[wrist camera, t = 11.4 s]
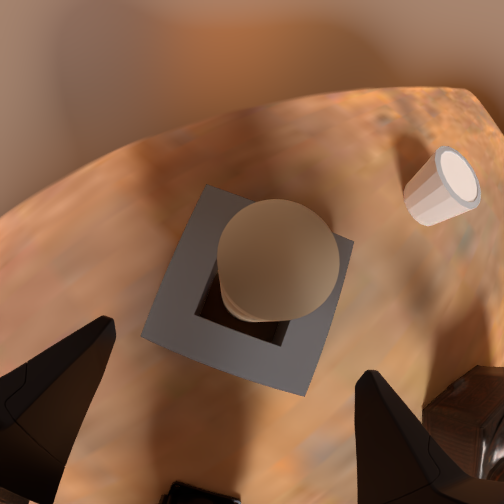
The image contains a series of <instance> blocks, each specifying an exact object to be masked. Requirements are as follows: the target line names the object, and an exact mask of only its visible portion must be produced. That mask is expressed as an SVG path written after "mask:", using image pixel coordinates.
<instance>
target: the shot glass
mask: <svg viewBox="0 0 504 504" xmlns="http://www.w3.org/2000/svg"><path fill="white" fill-rule="evenodd" d="M480 198H481V190H480V185H479V181H478V179H477V176H476V174H475V172H474V170H473V168H472V167H471V165H470V164H469V163H468V161H467V160H466V159H465V158H464V157H463V156H462V155H461V154H460V153H459V152H458V151H457V150H455V149H453V148H451V147H449V146H441V147H440V148H439V149H437V150H436V151H435V153H434V154H433V155H432V156H431V157H430V158H429V160H428V161H427V162H426V163H425V164H424V165H423V166H422V168H421V169H420V170H419V171H418V172H417V173H416V174H415V175H414V177H413V178H412V179H411V180H410V181H409V182H408V183H407V184H406V186H405V189H404V202H405V204H406V207H407V209H408V211H409V213H410V214H411V215H412V217H413V218H414V219H415V220H416V221H418V222H419V223H420V224H422V225H426V226H430V225H434V224H437V223H439V222H442V221H444V220H447V219H449V218H452V217H454V216H457V215H459V214H462V213H464V212H467V211H469V210H472V209H474V208H476V207H477V206H478V204H479V203H480Z"/></svg>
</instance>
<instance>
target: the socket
mask: <svg viewBox="0 0 504 504" xmlns="http://www.w3.org/2000/svg"><path fill="white" fill-rule="evenodd" d="M253 203H255V202H254V201H252V200H249V199H246V198H244V197H241V196H238V195H235V194H233V193H230V192H227V191H224V190H221V189H219V188H216V187H213V186H210V185H207V184H206V186H205V188H204V190H203V192H202V194H201V196H200V198H199V200H198V202H197V204H196V207H195V209H194V211H193V213H192V215H191V217H190V219H189V221H188V223H187V226H186V228H185V230H184V232H183V234H182V237H181V239H180V241H179V243H178V245H177V248H176V250H175V252H174V254H173V257H172V259H171V261H170V264H169V266H168V268H167V271H166V273H165V275H164V278H163V280H162V283H161V285H160V287H159V290H158V292H157V295H156V297H155V300H154V302H153V305H152V307H151V310H150V313H149V315H148V318H147V320H146V323H145V326H144V328H143V331H142V334H141V337H143V338H145V339H147V340H149V341H151V342H153V343H155V344H158V345H160V346H162V347H164V348H167V349H169V350H171V351H173V352H176V353H178V354H180V355H183V356H185V357H188V358H190V359H192V360H195V361H197V362H200V363H202V364H205V365H208V366H210V367H213V368H216V369H218V370H221V371H224V372H226V373H229V374H232V375H235V376H238V377H241V378H244V379H247V380H250V381H253V382H256V383H259V384H262V385H265V386H269V387H272V388H275V389H279V390H282V391H286V392H289V393H293V394H297V395H300V396H304V397H305V395H306V392H307V390H308V387H309V385H310V382H311V379H312V377H313V374H314V372H315V369H316V366H317V363H318V361H319V358H320V355H321V352H322V349H323V347H324V344H325V341H326V338H327V335H328V332H329V329H330V326H331V322H332V319H333V316H334V313H335V310H336V306H337V303H338V300H339V296H340V293H341V289H342V286H343V282H344V279H345V275H346V271H347V268H348V264H349V260H350V256H351V252H352V248H353V244H354V241H352V240H349V239H347V238H345V237H342V236H340V235H337V234H335V233H333V232H332V234H333V236H334V238H335V241H336V243H337V247H338V251H339V264H340V265H339V273H338V278H337V281H336V284H335V286H334V288H333V290H332V292H331V294H330V295H329V297H328V298H327V299H326V301H325V302H324V303H323V304H322V305H321V306H320V307H318V308H317V309H316V310H314V311H313V312H311V313H309V314H308V315H305V316H303V317H300V318H297V319H293V320H286V321H279V323H278V326H277V329H276V332H275V334H274V337H273V340H272V343H270V342H268V341H265V340H262V339H259V338H256V337H253V336H250V335H248V334H245V333H242V332H240V331H237V330H234V329H231V328H229V327H226V326H224V325H221V324H218V323H216V322H213V321H211V320H208V319H206V318H203V317H201V316H200V313H201V311H202V308H203V306H204V303H205V301H206V298H207V296H208V293H209V291H210V288H211V286H212V283H213V281H214V278H215V276H216V273H217V271H218V265H217V250H218V244H219V240H220V237H221V235H222V232H223V230H224V229H225V227H226V225H227V224H228V222H229V221H230V220H231V219H232V218H233V217H234V216H235V215H236V214H237V213H238V212H239V211H240V210H242V209H243V208H245V207H247V206H248V205H251V204H253Z"/></svg>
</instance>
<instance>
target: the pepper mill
mask: <svg viewBox="0 0 504 504" xmlns="http://www.w3.org/2000/svg"><path fill="white" fill-rule="evenodd" d="M423 426H424V427H425V428H426V430H427V431H428V432H429V435H431V436H432V437H433V438H434V439H435V441H436V442H437V443H438V444H439V445H440V447H441V448H442V449H443V450H444V451H445V452H446V453H447V454H448V455H449V456H450V457H451V458H452V459H453V460H454V461H455V462H456V463H457V464H458V466H459V467H460V468H461V469H462V470H463V471H464V472H466V473H467V474H468V475H470V476H472V477H475V478H480V479H485V480H492V481H498V482H504V367H484V366H479V365H477V366H475V367H474V368H473V369H472V370H470V371H469V372H468V373H466V374H465V375H464V376H462V377H460V378H459V379H458V380H456V381H455V382H454V383H453V384H452V385H450V386H449V387H448V388H447V390H445V391H444V392H443V393H442V394H441V395H439V396H438V397H437V398H436V399H434V400H433V401H432V402H431V403H430V404H429V405H428V406H427V407H426V408H425V409H424V410H423Z"/></svg>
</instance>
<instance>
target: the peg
mask: <svg viewBox="0 0 504 504" xmlns="http://www.w3.org/2000/svg"><path fill="white" fill-rule="evenodd" d="M217 265H218V273H219V280H220V287H221V295H222V301H223V304H224V307H225V309H226V310H227V312H228V313H229V314H230V315H231V316H232V317H234V318H235V319H237V320H240V321H243V322H267V321H286V320H293V319H297V318H300V317H303V316H305V315H308V314H309V313H311V312H313V311H314V310H316V309H317V308H318V307H320V306H321V305H322V304H323V303H324V302H325V301H326V299H327V298H328V297H329V295H330V294H331V292H332V290H333V288H334V286H335V284H336V281H337V278H338V273H339V265H340V264H339V251H338V247H337V243H336V241H335V238H334V236H333V234H332V232H331V230H330V229H329V227H328V226H327V224H326V223H325V222H324V221H323V220H322V219H321V218H320V217H319V216H318V215H317V214H316V213H315V212H313V211H312V210H310V209H309V208H307V207H305V206H303V205H301V204H299V203H296V202H293V201H289V200H283V199H268V200H262V201H259V202H255V203H253V204H251V205H248V206H247V207H245V208H243V209H242V210H240V211H239V212H238V213H237V214H236V215H235V216H234V217H233V218H232V219H231V220H230V221H229V222H228V224H227V225H226V227H225V229H224V230H223V232H222V235H221V237H220V240H219V244H218V250H217Z"/></svg>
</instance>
